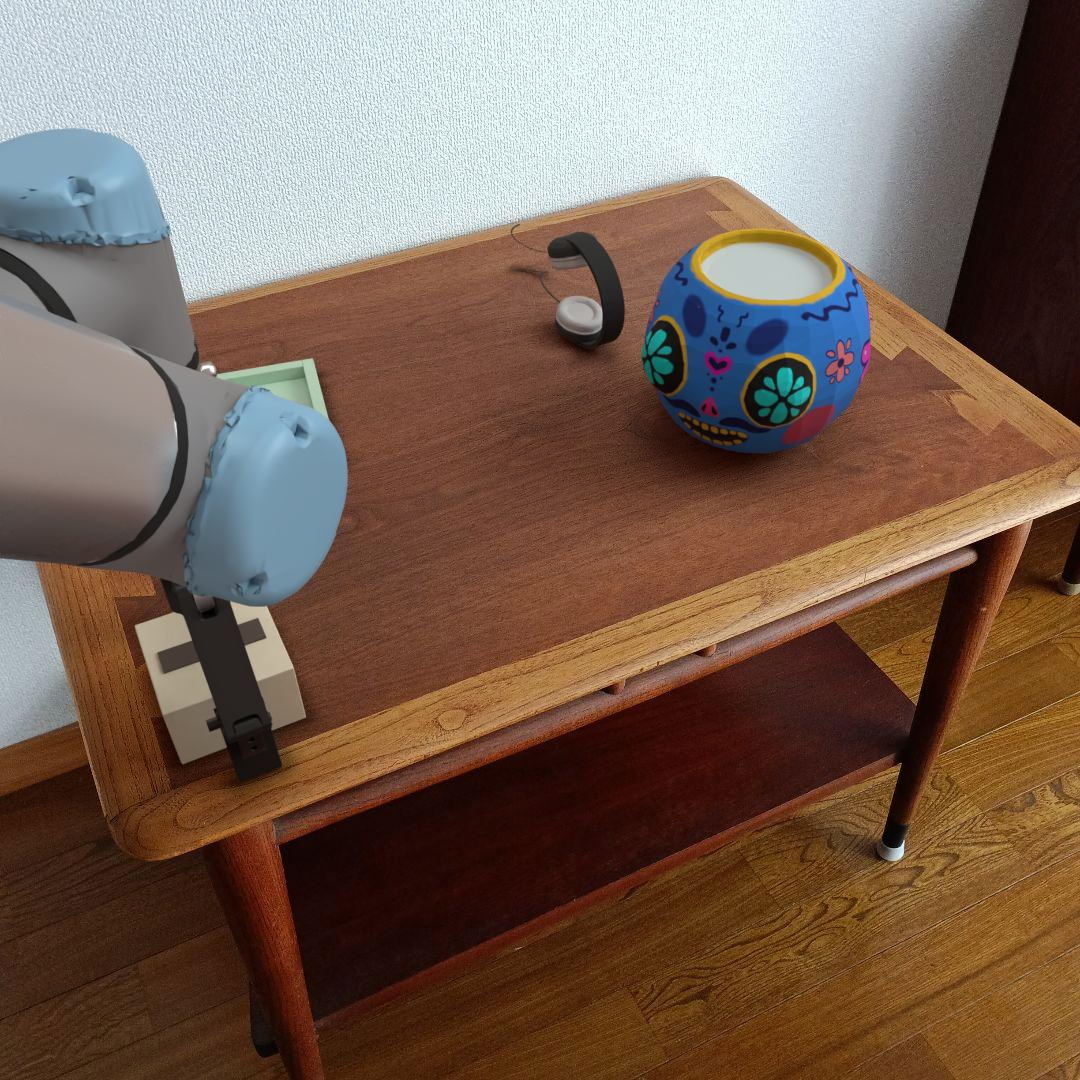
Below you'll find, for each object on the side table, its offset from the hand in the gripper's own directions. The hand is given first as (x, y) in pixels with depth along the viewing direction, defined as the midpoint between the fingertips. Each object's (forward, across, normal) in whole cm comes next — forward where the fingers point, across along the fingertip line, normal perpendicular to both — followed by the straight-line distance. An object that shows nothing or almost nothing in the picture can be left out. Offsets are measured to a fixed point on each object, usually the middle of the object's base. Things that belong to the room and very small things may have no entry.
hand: (230, 692), depth 72 cm
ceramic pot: (+1, +9, -46) cm, 47 cm away
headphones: (+1, +31, -40) cm, 51 cm away
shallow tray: (0, +26, -9) cm, 28 cm away
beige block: (0, 0, 0) cm, 0 cm away
